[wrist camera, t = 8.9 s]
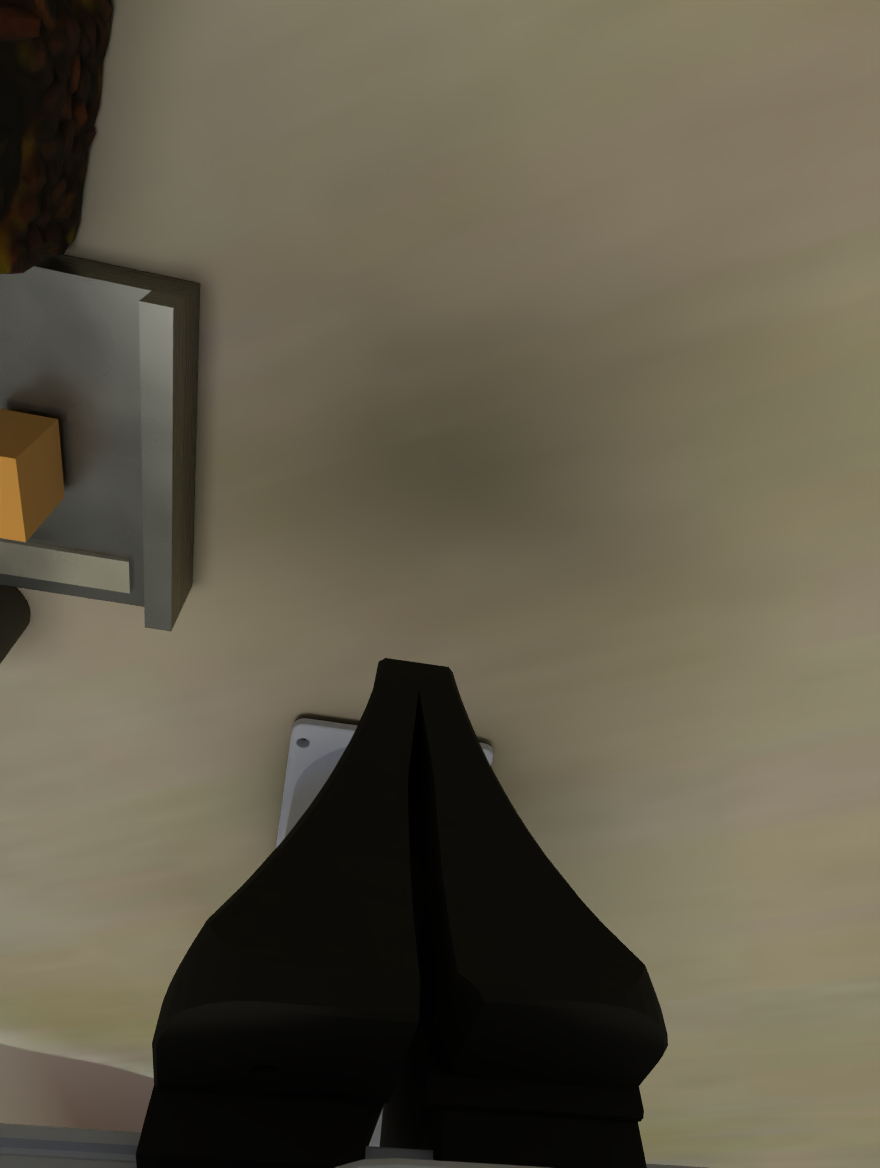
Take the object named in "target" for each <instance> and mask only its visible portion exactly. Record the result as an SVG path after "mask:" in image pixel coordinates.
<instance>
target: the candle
mask: <svg viewBox="0 0 880 1168" xmlns="http://www.w3.org/2000/svg"><path fill="white" fill-rule="evenodd" d="M111 15H112V5H111V2H110V0H0V274H20V273H24V272H26V271H27V270H29V269H30V268H32V267H33V266H35V265H36V264H37V263H38V261H39V260H40V258H41V257H42V255H43V254H46V255H48V256H51V255H59V254H64V252H65V251H66V249H67V248H68V246H69V245H70V243H71V242H72V241H73V240H74V237H75V234H76V230H77V227H78V220H79V212H80V204H81V196H82V189H83V182H84V175H85V169H86V160H87V149H88V147H89V145H90V143H91V141H92V139H93V137H94V135H95V131H94V127H93V125H94V121H95V117H96V114H97V110H98V104H99V95H100V86H101V68H102V60H103V57H104V54H105V51H106V47H107V43H108V37H109V30H110V23H111Z"/></svg>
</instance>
